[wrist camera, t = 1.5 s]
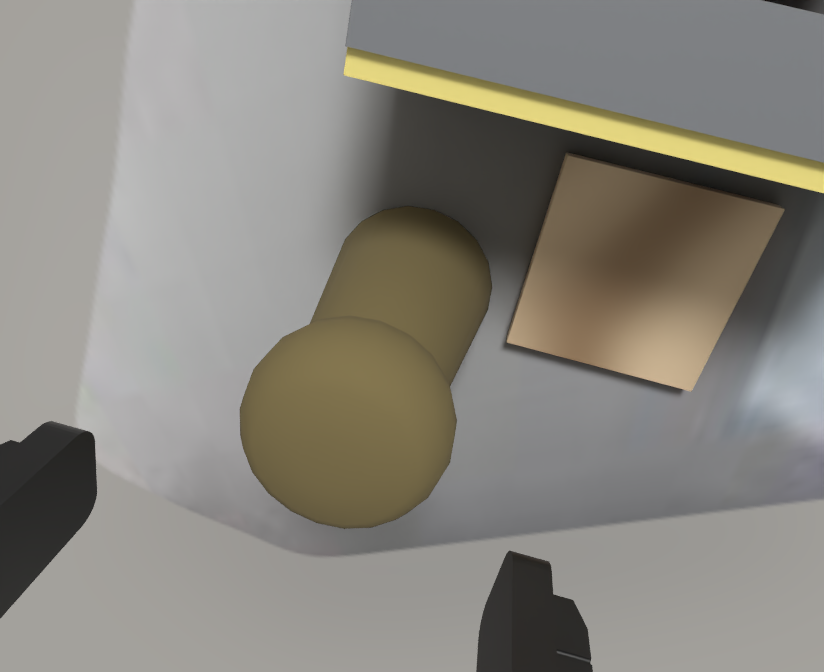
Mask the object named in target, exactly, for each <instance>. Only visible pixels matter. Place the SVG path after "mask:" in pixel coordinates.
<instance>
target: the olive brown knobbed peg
mask: <svg viewBox="0 0 824 672" xmlns="http://www.w3.org/2000/svg"><path fill="white" fill-rule="evenodd" d="M491 290H492V283H491V276H490V270H489V264H488V261H487V259H486V257H485V255H484V253H483V251H482V249H481V248H480V246H479V244H478V242H477V240H476V239H475V238H474V237H473V236H472V235H471V234H470V233H469V232H468V231H467V230H466V229H465V228H464V227H463V226H462V225H461V224H460V223H458V222H457V221H455V220H453V219H451V218H449V217H447V216H445V215H443V214H441V213H439V212H437V211H435V210H431V209H424V208H418V207H411V206H405V207H399V208H393V209H387V210H382V211H380V212H378V213H377V214H375V215H373V216H371V217H369V218H367V219H365V220H364V221H362V222H361V223H360V224H359V225H358V226H357V227H356V228H355V229H354V230H353V231H352V232H351V234H350V235H349V236H348V237H347V238H346V239H345V241H344V244H343V246H342V248H341V251H340V253H339V255H338V258H337V260H336V263H335V265H334V267H333V270H332V272H331V275H330V277H329V279H328V282H327V284H326V286H325V289H324V291H323V294H322V296H321V298H320V301H319V303H318V306H317V308H316V310H315V313H314V315H313V317H312V320H311V322H310V324H309V325H307V326H305V327H303V328H301V329H299V330H297V331H295V332H293V333H291V334H288V335H286V336H284V337H283V338H282V339H281V340H280V341H279V342H278V343H277V344H276V345H275V346H274V347H273V348H272V349H271V350H270V351H269V353H268V354H267V355H266V356H265V357H264V358H263V359H262V360H261V361H260V363H259V364H258V365H257V366H256V367H255V368H254V370H253V372H252V375H251V378H250V381H249V383H248V386H247V389H246V391H245V394H244V397H243V400H242V403H241V407H240V436H241V440H242V445H243V449H244V452H245V454H246V457H247V459H248V462H249V465H250V467H251V470H252V472H253V474H254V475H255V476H256V478H257V479H258V480H259V481H260V483H261V484H262V485H263V487H264V488H265V489H266V491H267V492H268V493H269V494H270V495H271V496H273V497H274V498H275V499H276V500H278V501H279V502H280V503H281V504H283V505H284V506H285V507H286V508H288V509H289V510H290V511H292V512H294V513H296V514H299V515H301V516H303V517H305V518H307V519H309V520H312V521H314V522H316V523H320V524H325V525H329V526H334V527H339V528H344V529H345V528H371V527H374V526H377V525H380V524H384V523H387V522H390V521H393V520H396V519H398V518H399V517H401V516H403V515H405V514H406V513H408V512H409V511H411V510H412V509H413V508H415V507H416V506H417V505H419V504H420V503H421V502H423V501H424V500H425V499H427V498H428V497H429V495H430V494H431V492H432V490H433V489H434V487H435V486H436V484H437V482H438V481H439V479H440V478H441V476H442V475H443V473H444V471H445V470H446V468H447V466H448V465H449V463H450V459H451V453H452V448H453V442H454V436H455V430H456V423H457V419H456V414H455V409H454V404H453V399H452V394H451V390H450V385H451V383H452V381H453V379H454V377H455V375H456V373H457V371H458V369H459V367H460V365H461V363H462V361H463V359H464V357H465V355H466V353H467V351H468V349H469V347H470V345H471V343H472V341H473V339H474V337H475V335H476V333H477V331H478V328H479V326H480V324H481V322H482V320H483V318H484V316H485V314H486V312H487V310H488V306H489V301H490V295H491Z"/></svg>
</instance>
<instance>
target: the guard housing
mask: <svg viewBox="0 0 824 672" xmlns="http://www.w3.org/2000/svg"><path fill="white" fill-rule="evenodd" d="M345 46H347V47H348V48H347V55H346V61H345V68H344V75H345V76H349V77H353V78H357V79H361V80H365V81H370V82H374V83H378V84H382V85H386V86H390V87H394V88H398V89H402V90H406V91H410V92H414V93H418V94H422V95H426V96H430V97H435V98H439V99H443V100H447V101H451V102H455V103H459V104H463V105H467V106H471V107H475V108H479V109H483V110H487V111H491V112H495V113H499V114H504V115H508V116H512V117H516V118H520V119H524V120H528V121H532V122H536V123H540V124H544V125H548V126H552V127H556V128H560V129H564V130H569V131H573V132H577V133H581V134H585V135H589V136H593V137H597V138H601V139H605V140H609V141H613V142H617V143H621V144H625V145H629V146H634V147H638V148H642V149H646V150H650V151H654V152H658V153H662V154H666V155H670V156H674V157H678V158H682V159H686V160H690V161H694V162H699V163H703V164H707V165H711V166H715V167H719V168H723V169H727V170H731V171H735V172H739V173H743V174H747V175H751V176H755V177H759V178H763V179H768V180H772V181H776V182H780V183H784V184H788V185H792V186H796V187H800V188H804V189H808V190H812V191H816V192H820V193H824V14H819V13H815V12H811V11H806V10H802V9H798V8H793V7H789V6H785V5H780V4H776V3H772V2H767V1H763V0H352V3H351V10H350V17H349V24H348V31H347V38H346V45H345Z"/></svg>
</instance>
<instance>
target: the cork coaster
mask: <svg viewBox="0 0 824 672" xmlns="http://www.w3.org/2000/svg"><path fill="white" fill-rule="evenodd" d="M784 210H785V209H784V208H782V207H781V206H779V205H777V204H773V203H769V202H765V201H761V200H757V199H753V198H749V197H745V196H741V195H737V194H733V193H729V192H725V191H721V190H717V189H713V188H709V187H705V186H701V185H697V184H693V183H689V182H685V181H680V180H676V179H672V178H668V177H664V176H660V175H656V174H652V173H648V172H644V171H640V170H636V169H632V168H628V167H624V166H620V165H616V164H612V163H608V162H604V161H600V160H596V159H592V158H588V157H584V156H580V155H576V154H572V153H568V152H566V155H565V158H564V161H563V164H562V167H561V170H560V173H559V176H558V179H557V182H556V186H555V189H554V192H553V195H552V198H551V201H550V204H549V207H548V210H547V213H546V216H545V220H544V223H543V226H542V229H541V232H540V235H539V238H538V241H537V244H536V247H535V250H534V253H533V257H532V260H531V263H530V266H529V269H528V272H527V275H526V278H525V281H524V284H523V287H522V291H521V294H520V297H519V300H518V303H517V306H516V309H515V312H514V315H513V318H512V321H511V325H510V328H509V331H508V334H507V343H511V344H515V345H519V346H522V347H526V348H530V349H534V350H537V351H541V352H545V353H549V354H552V355H556V356H560V357H564V358H567V359H571V360H575V361H579V362H583V363H586V364H590V365H594V366H598V367H601V368H605V369H609V370H613V371H616V372H620V373H624V374H628V375H631V376H635V377H639V378H643V379H646V380H650V381H654V382H658V383H661V384H665V385H669V386H673V387H676V388H680V389H684V390H688V391H692V389H693V387H694V385H695V383H696V381H697V379H698V378H699V376H700V374H701V372H702V370H703V368H704V366H705V364H706V362H707V360H708V358H709V356H710V354H711V352H712V350H713V348H714V346H715V344H716V343H717V341H718V339H719V337H720V335H721V333H722V331H723V329H724V327H725V325H726V323H727V321H728V319H729V317H730V315H731V313H732V311H733V310H734V308H735V306H736V304H737V302H738V300H739V298H740V296H741V294H742V292H743V290H744V288H745V286H746V284H747V282H748V280H749V278H750V276H751V275H752V273H753V271H754V269H755V267H756V265H757V263H758V261H759V259H760V257H761V255H762V253H763V251H764V249H765V247H766V245H767V243H768V241H769V240H770V238H771V236H772V234H773V232H774V230H775V228H776V226H777V224H778V222H779V220H780V218H781V216H782V214H783V212H784Z"/></svg>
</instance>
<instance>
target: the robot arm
mask: <svg viewBox="0 0 824 672" xmlns="http://www.w3.org/2000/svg"><path fill="white" fill-rule="evenodd" d="M96 496H97V481H96V457H95V439H94V436H93V434H92V433H91V432H88V431H85V430H81V429H78V428H74V427H71V426H67V425H63V424H60V423H56V422H53V421H50V422H46V423H44V424H42V425H41V426H40V427H38V428H37V429H36V430H35V431H33V432H32V433H31V434H30V435H29V436H27V437H26V438H25V439H24V440H23V441H22V442H20V443H19V442H15V441H12V440H10V441H8V442H5V443H3V444H1V445H0V618H1V617H2V616H3V615H4V614H5V613H6V611H7V610H8V609H9V608H10V607H11V605H13V604H14V602H15V601H16V600H17V599H18V598H19V597H20V596H21V595H22V593H23V592H24V591H25V590H26V589H27V588H28V587H29V585H30V584H31V583H32V582H33V581H34V580H35V578H36V577H37V576H38V575H39V574H40V573H41V572H42V571H43V570H44V568H45V567H46V566H47V565H48V564H49V563H50V562H51V561H52V559H53V558H54V557H55V556H56V555H57V554H58V553H59V551H60V550H61V549H62V548H63V547H64V546H65V545H66V544H67V542H68V541H69V540H70V539H71V538H72V537H73V536H74V535H75V533H76V532H77V531H78V530H79V529H80V528H81V527H82V525H83V524H84V523H85V522H86V520H87V518H88V517H89V515H90V513H91V511H92V509H93V507H94V503H95V500H96ZM478 641H479V642H478V655H477V672H593V670H592V665H591V664H590V661H591V653H590V645H589V637H588V629H587V627H586V625H585V623H584V621H583V619H582V617H581V615H580V613H579V611H578V609H577V607H576V605H575V603H574V601H573V600H571V599H567V598H564V597H560V596H557V595H553V587H552V571H551V565H550V563H549V562H548V561H545V560H541V559H537V558H534V557H530V556H527V555H523V554H519V553H516V552H512V551H509V552H508V553H507V554H506V556H505V558H504V561H503V564H502V566H501V568H500V571H499V573H498V575H497V578H496V580H495V583H494V586H493V588H492V590H491V593H490V595H489V597H488V600H487V602H486V605H485V608H484V611H483V616H482V620H481V625H480V631H479V640H478Z"/></svg>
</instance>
